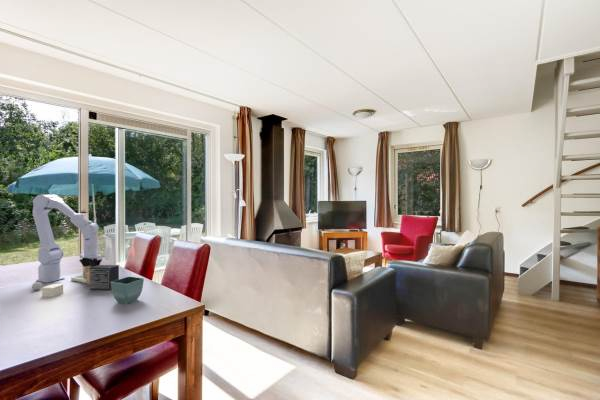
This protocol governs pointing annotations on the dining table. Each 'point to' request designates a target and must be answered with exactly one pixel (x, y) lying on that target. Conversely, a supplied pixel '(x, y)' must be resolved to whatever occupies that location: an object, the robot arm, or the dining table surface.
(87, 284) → the peach rounded cylinder
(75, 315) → the dining table surface
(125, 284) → the flower pot
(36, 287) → the grey ball
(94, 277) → the small box
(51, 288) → the cream block
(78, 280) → the tray
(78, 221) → the robot arm
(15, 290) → the dining table surface
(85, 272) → the maple block
